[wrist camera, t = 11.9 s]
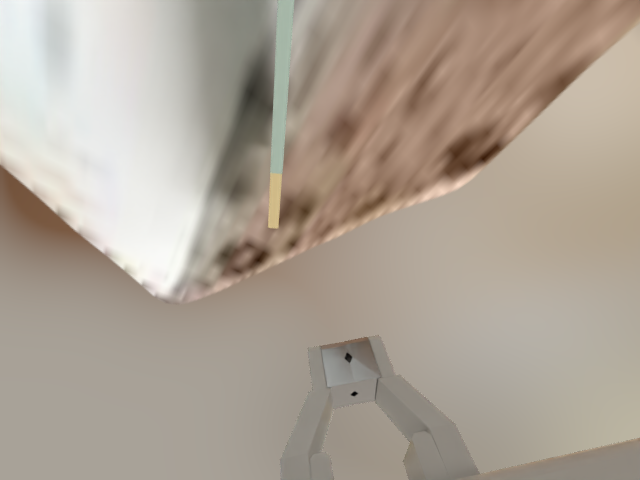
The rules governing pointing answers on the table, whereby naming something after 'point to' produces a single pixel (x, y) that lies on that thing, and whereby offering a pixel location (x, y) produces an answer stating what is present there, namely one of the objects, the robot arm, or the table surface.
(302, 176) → the table surface
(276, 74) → the green yellow-tipped stick
